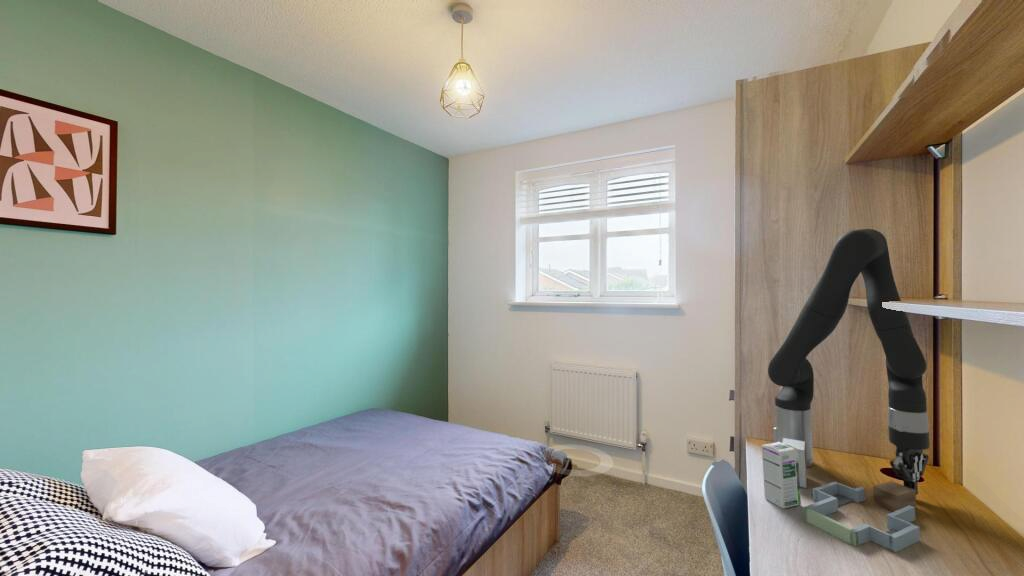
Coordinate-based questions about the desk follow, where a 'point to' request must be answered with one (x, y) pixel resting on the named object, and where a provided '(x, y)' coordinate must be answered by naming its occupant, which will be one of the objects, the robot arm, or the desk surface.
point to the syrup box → (781, 474)
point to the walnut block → (894, 496)
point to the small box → (799, 458)
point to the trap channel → (893, 539)
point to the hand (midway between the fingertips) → (910, 493)
